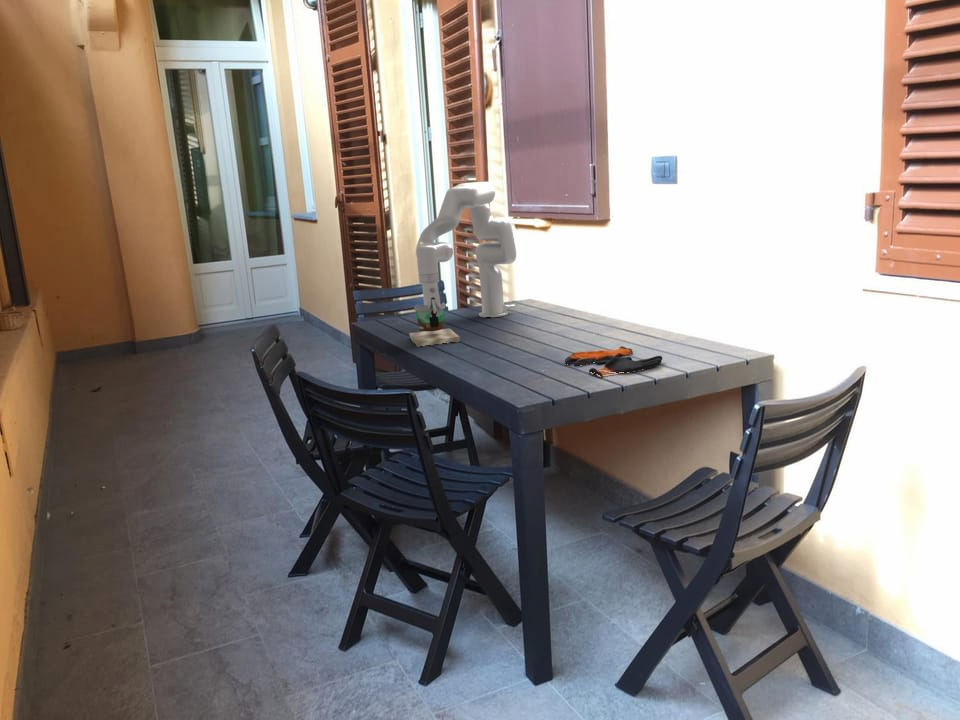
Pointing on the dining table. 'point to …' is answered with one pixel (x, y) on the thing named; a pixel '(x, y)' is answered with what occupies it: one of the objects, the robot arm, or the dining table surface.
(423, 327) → the food container
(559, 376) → the dining table surface
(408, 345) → the dining table surface
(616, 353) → the pair of gloves
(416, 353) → the dining table surface
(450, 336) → the birch board
